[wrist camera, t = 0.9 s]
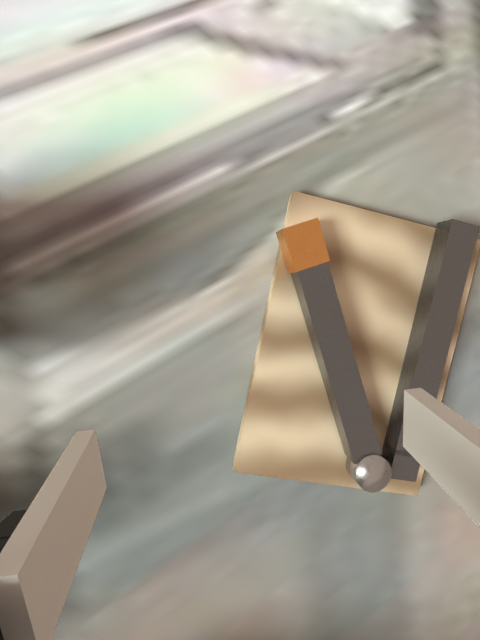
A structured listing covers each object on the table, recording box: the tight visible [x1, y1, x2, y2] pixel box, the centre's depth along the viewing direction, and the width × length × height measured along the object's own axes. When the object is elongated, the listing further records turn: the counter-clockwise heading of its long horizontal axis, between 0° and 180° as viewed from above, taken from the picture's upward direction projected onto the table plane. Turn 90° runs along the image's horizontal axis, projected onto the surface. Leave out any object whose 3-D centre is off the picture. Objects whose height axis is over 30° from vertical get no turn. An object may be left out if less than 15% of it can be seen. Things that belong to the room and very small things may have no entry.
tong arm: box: [276, 218, 392, 492], centre depth 36 cm, size 27×4×3 cm, turn 18°
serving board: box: [232, 191, 480, 496], centre depth 39 cm, size 28×20×2 cm
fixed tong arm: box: [381, 219, 479, 482], centre depth 38 cm, size 26×3×2 cm, turn 168°
